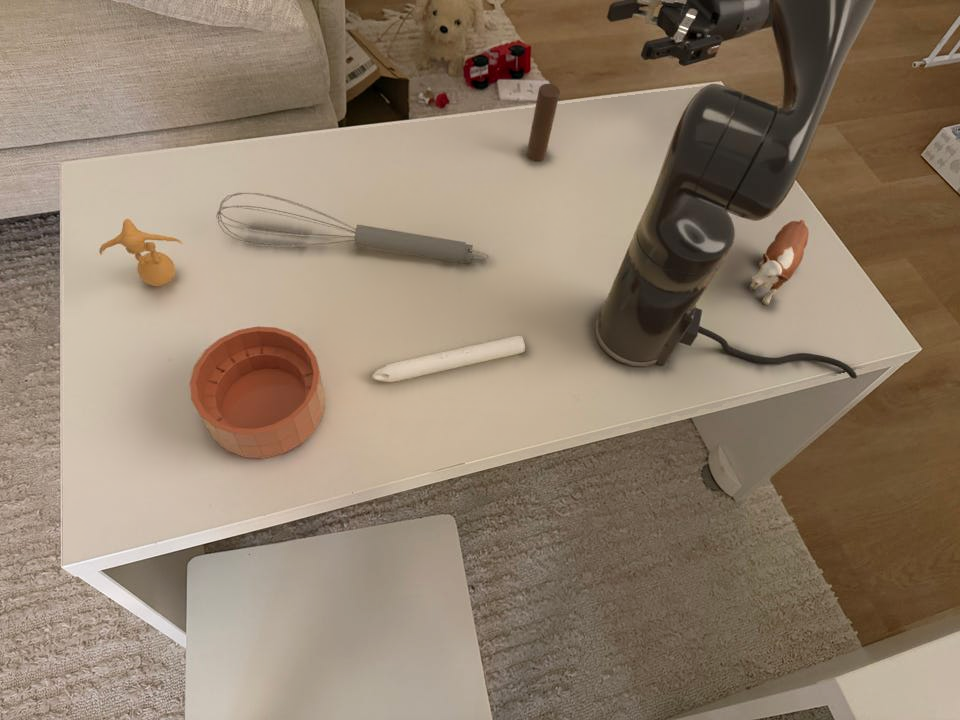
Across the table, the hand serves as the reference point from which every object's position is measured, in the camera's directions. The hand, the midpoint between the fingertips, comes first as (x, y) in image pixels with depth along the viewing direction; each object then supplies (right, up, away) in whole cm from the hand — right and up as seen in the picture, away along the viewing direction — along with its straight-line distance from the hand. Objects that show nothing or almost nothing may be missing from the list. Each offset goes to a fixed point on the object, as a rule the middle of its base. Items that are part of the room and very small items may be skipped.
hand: (626, 31), depth 86 cm
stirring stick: (-11, -12, +12) cm, 20 cm away
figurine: (-57, -34, -6) cm, 66 cm away
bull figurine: (+19, -32, +3) cm, 37 cm away
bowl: (-42, -47, -14) cm, 65 cm away
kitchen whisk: (-35, -28, 0) cm, 45 cm away
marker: (-23, -43, -8) cm, 49 cm away
